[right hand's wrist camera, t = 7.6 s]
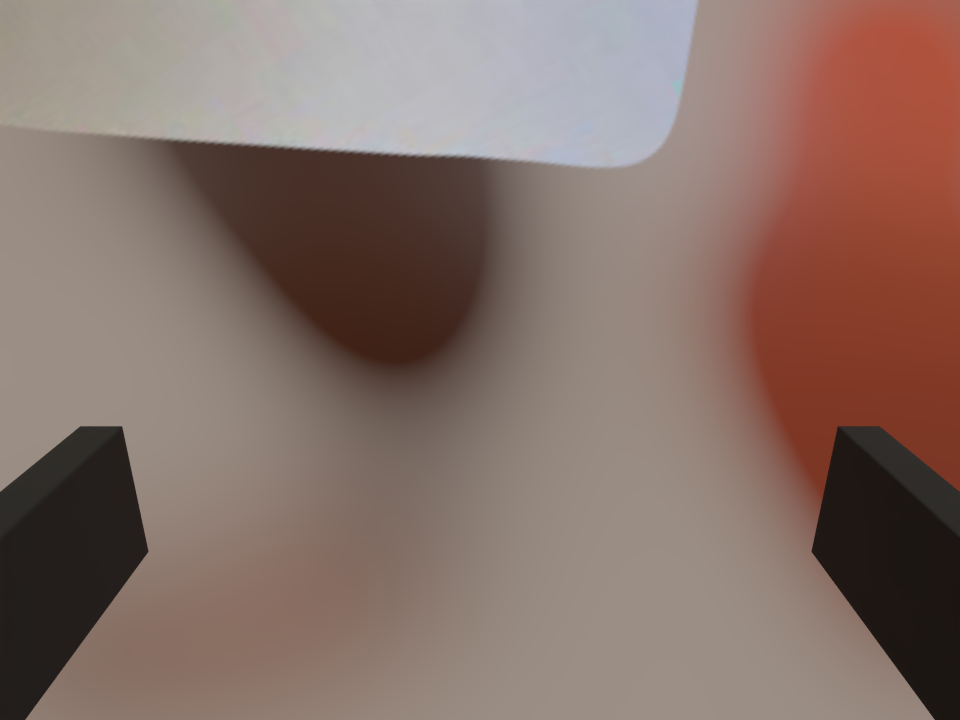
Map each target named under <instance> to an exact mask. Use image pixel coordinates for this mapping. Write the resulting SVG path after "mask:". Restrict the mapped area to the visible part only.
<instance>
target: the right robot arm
mask: <svg viewBox="0 0 960 720" xmlns="http://www.w3.org/2000/svg"><path fill="white" fill-rule="evenodd" d="M147 553H148V548H147V543H146V538H145V533H144V528H143V524H142V519H141V514H140V509H139V504H138V500H137V495H136V490H135V485H134V481H133V476H132V471H131V467H130V462H129V457H128V452H127V447H126V443H125V438H124V433H123V429H122V426H81V427H79V428H78V429H77V430H75V431H74V432H73V433H72V434H71V435H69V436H68V437H67V438H66V439H64V440H63V441H62V442H61V443H60V444H58V445H57V446H56V447H55V448H53V449H52V450H51V451H50V452H49V453H47V454H46V455H45V456H44V457H42V458H41V459H40V460H39V461H38V462H36V463H35V464H34V465H33V466H31V467H30V468H29V469H28V470H27V471H25V472H24V473H23V474H22V475H20V476H19V477H18V478H17V479H16V480H14V481H13V482H12V483H11V484H9V485H8V486H7V487H6V488H5V489H3V490H2V491H1V492H0V720H25V719H26V718H27V716H28V715H29V714H30V712H31V711H32V710H33V708H34V707H35V706H36V704H37V703H38V701H39V700H40V699H41V697H42V696H43V695H44V693H45V692H46V691H47V689H48V688H49V686H50V685H51V684H52V682H53V681H54V680H55V678H56V677H57V675H58V674H59V673H60V671H61V670H62V669H63V667H64V666H65V665H66V663H67V662H68V660H69V659H70V658H71V656H72V655H73V654H74V652H75V651H76V650H77V648H78V647H79V646H80V644H81V643H82V641H83V640H84V639H85V637H86V636H87V635H88V633H89V632H90V631H91V629H92V628H93V627H94V625H95V624H96V622H97V621H98V620H99V618H100V617H101V616H102V614H103V613H104V612H105V610H106V609H107V607H108V606H109V605H110V603H111V602H112V601H113V599H114V598H115V596H116V595H117V594H118V592H119V591H120V590H121V588H122V587H123V586H124V584H125V583H126V582H127V580H128V579H129V577H130V576H131V575H132V573H133V572H134V571H135V569H136V568H137V567H138V565H139V564H140V562H141V561H142V560H143V558H144V557H145V556H146V554H147ZM812 553H813V554H814V556H815V557H816V558H817V560H818V561H819V562H820V564H821V565H822V566H823V568H824V569H825V571H826V572H827V573H828V575H829V576H830V577H831V579H832V580H833V581H834V583H835V584H836V586H837V587H838V588H839V590H840V591H841V592H842V594H843V595H844V597H845V598H846V599H847V601H848V602H849V603H850V605H851V606H852V607H853V609H854V610H855V612H856V613H857V614H858V616H859V617H860V618H861V620H862V621H863V622H864V624H865V625H866V626H867V628H868V629H869V631H870V632H871V633H872V635H873V636H874V637H875V639H876V640H877V641H878V643H879V644H880V646H881V647H882V648H883V650H884V651H885V652H886V654H887V655H888V656H889V658H890V659H891V661H892V662H893V663H894V665H895V666H896V667H897V669H898V670H899V671H900V673H901V674H902V676H903V677H904V678H905V680H906V681H907V682H908V684H909V685H910V686H911V688H912V689H913V691H914V692H915V693H916V695H917V696H918V697H919V699H920V700H921V701H922V703H923V704H924V705H925V707H926V708H927V710H928V711H929V712H930V714H931V715H932V716H933V718H934V719H935V720H960V492H959V491H958V490H957V489H955V488H954V487H953V486H952V485H951V484H949V483H948V482H947V481H946V480H944V479H943V478H942V477H941V476H940V475H938V474H937V473H936V472H935V471H933V470H932V469H931V468H930V467H929V466H927V465H926V464H925V463H924V462H922V461H921V460H920V459H919V458H917V457H916V456H915V455H914V454H913V453H911V452H910V451H909V450H908V449H907V448H905V447H904V446H903V445H902V444H900V443H899V442H898V441H897V440H896V439H894V438H893V437H892V436H891V435H889V434H888V433H887V432H886V431H885V430H883V429H882V428H881V427H879V426H838V428H837V433H836V438H835V443H834V447H833V452H832V457H831V462H830V466H829V471H828V476H827V481H826V486H825V490H824V495H823V500H822V504H821V509H820V514H819V519H818V524H817V528H816V533H815V538H814V543H813V547H812Z"/></svg>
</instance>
